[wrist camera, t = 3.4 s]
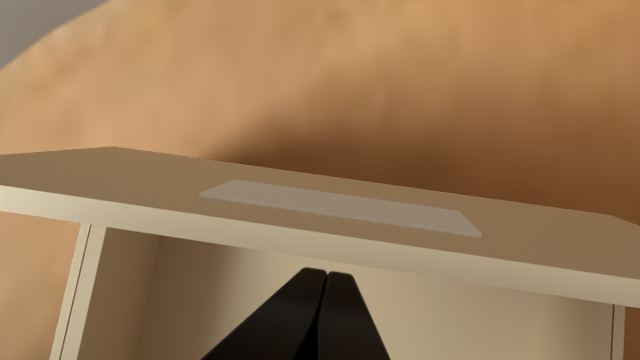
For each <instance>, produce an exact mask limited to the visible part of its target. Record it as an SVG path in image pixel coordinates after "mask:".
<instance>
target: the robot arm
mask: <svg viewBox="0 0 640 360" xmlns="http://www.w3.org/2000/svg"><path fill="white" fill-rule="evenodd" d="M200 360H391V359H390V356H389V354H388V352H387V350H386V347H385V345H384V343H383V341H382V339H381V336H380V334H379V332H378V330H377V327H376V325H375V323H374V321H373V319H372V316H371V314H370V312H369V310H368V308H367V305H366V303H365V301H364V299H363V296H362V294H361V292H360V290H359V288H358V285H357V283H356V281H355V279H354V277H353V275H351V274H349V273H343V272H336V271H330V272H329V273H328V275H327V272H326V271H325V270H323V269H317V268H310V267H304V268H302V269H301V270H300V271H299V272H298V273H296V274H295V275H294V276H293V277H292V278H291V279H290V280H289V281H287V282H286V283H285V284H284V285H283V286H282V287H281V288H280V289H278V290H277V291H276V292H275V293H274V294H273V295H272V296H271V297H269V298H268V299H267V300H266V301H265V302H264V303H263V304H262V305H261V306H259V307H258V308H257V309H256V310H255V311H254V312H253V313H252V314H250V315H249V316H248V317H247V318H246V319H245V320H244V321H243V322H241V323H240V324H239V325H238V326H237V327H236V328H235V329H234V330H232V331H231V332H230V333H229V334H228V335H227V336H226V337H225V338H224V339H222V340H221V341H220V342H219V343H218V344H217V345H216V346H215V347H213V348H212V349H211V350H210V351H209V352H208V353H207V354H206V355H204V356H203V357H202V358H201V359H200Z"/></svg>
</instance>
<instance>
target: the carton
mask: <svg viewBox="0 0 640 360" xmlns="http://www.w3.org/2000/svg"><path fill="white" fill-rule="evenodd" d="M304 267H310V268H317V269H323V270H325V271H326V272H327V275H328V273H329V272H330V271H336V272H343V273H349V274H351V275H353V277H354V279H355V281H356V283H357V285H358V288H359V290H360V292H361V294H362V296H363V299H364V301H365V303H366V305H367V308H368V310H369V312H370V314H371V316H372V319H373V321H374V323H375V325H376V327H377V330H378V332H379V334H380V336H381V339H382V341H383V343H384V345H385V347H386V350H387V352H388V354H389V356H390V359H391V360H623V351H624V330H625V308H626V306H622V305H615V304H608V303H602V302H595V301H589V300H582V299H576V298H569V297H563V296H556V295H549V294H543V293H536V292H530V291H523V290H517V289H510V288H504V287H497V286H491V285H484V284H477V283H471V282H464V281H458V280H451V279H445V278H438V277H432V276H425V275H418V274H412V273H405V272H399V271H392V270H386V269H379V268H373V267H366V266H360V265H353V264H346V263H340V262H333V261H327V260H320V259H314V258H307V257H301V256H294V255H288V254H281V253H274V252H268V251H261V250H255V249H248V248H242V247H235V246H229V245H222V244H215V243H209V242H202V241H196V240H189V239H183V238H176V237H170V236H163V235H157V234H150V233H143V232H137V231H130V230H124V229H117V228H111V227H104V226H98V225H91V224H84V223H81V226H80V230H79V235H78V239H77V243H76V247H75V252H74V256H73V260H72V264H71V269H70V273H69V277H68V282H67V286H66V290H65V294H64V299H63V303H62V307H61V311H60V316H59V320H58V324H57V329H56V333H55V337H54V341H53V346H52V350H51V354H50V358H49V360H200V359H201V358H202V357H203V356H204V355H206V354H207V353H208V352H209V351H210V350H211V349H212V348H213V347H215V346H216V345H217V344H218V343H219V342H220V341H221V340H222V339H224V338H225V337H226V336H227V335H228V334H229V333H230V332H231V331H232V330H234V329H235V328H236V327H237V326H238V325H239V324H240V323H241V322H243V321H244V320H245V319H246V318H247V317H248V316H249V315H250V314H252V313H253V312H254V311H255V310H256V309H257V308H258V307H259V306H261V305H262V304H263V303H264V302H265V301H266V300H267V299H268V298H269V297H271V296H272V295H273V294H274V293H275V292H276V291H277V290H278V289H280V288H281V287H282V286H283V285H284V284H285V283H286V282H287V281H289V280H290V279H291V278H292V277H293V276H294V275H295V274H296V273H298V272H299V271H300V270H301V269H302V268H304Z"/></svg>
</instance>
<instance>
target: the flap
mask: <svg viewBox="0 0 640 360" xmlns="http://www.w3.org/2000/svg"><path fill="white" fill-rule="evenodd" d="M0 211H6V212H12V213H19V214H26V215H32V216H39V217H45V218H52V219H58V220H65V221H71V222H78V223H84V224H91V225H98V226H104V227H111V228H117V229H124V230H130V231H137V232H143V233H150V234H157V235H163V236H170V237H176V238H183V239H189V240H196V241H202V242H209V243H215V244H222V245H229V246H235V247H242V248H248V249H255V250H261V251H268V252H274V253H281V254H288V255H294V256H301V257H307V258H314V259H320V260H327V261H333V262H340V263H346V264H353V265H360V266H366V267H373V268H379V269H386V270H392V271H399V272H405V273H412V274H418V275H425V276H432V277H438V278H445V279H451V280H458V281H464V282H471V283H477V284H484V285H491V286H497V287H504V288H510V289H517V290H523V291H530V292H536V293H543V294H549V295H556V296H563V297H569V298H576V299H582V300H589V301H595V302H602V303H608V304H615V305H622V306H628V307H635V308H640V226H639V225H636V224H634V223H631V222H628V221H625V220H623V219H620V218H617V217H615V216H612V215H607V214H600V213H592V212H585V211H578V210H571V209H564V208H556V207H549V206H542V205H535V204H527V203H520V202H513V201H506V200H498V199H491V198H484V197H477V196H469V195H462V194H455V193H448V192H440V191H433V190H426V189H419V188H411V187H404V186H397V185H390V184H382V183H375V182H368V181H361V180H353V179H346V178H339V177H332V176H324V175H317V174H310V173H303V172H296V171H288V170H281V169H274V168H267V167H259V166H252V165H245V164H238V163H230V162H223V161H216V160H209V159H201V158H194V157H187V156H180V155H172V154H165V153H158V152H151V151H143V150H136V149H129V148H122V147H101V148H87V149H74V150H61V151H47V152H34V153H20V154H7V155H0Z"/></svg>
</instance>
